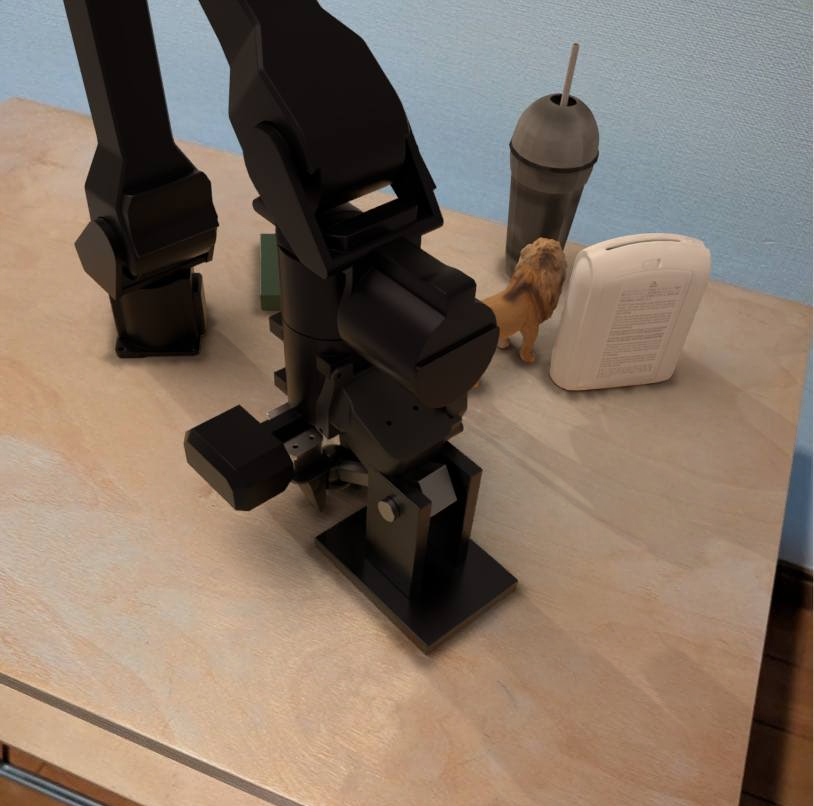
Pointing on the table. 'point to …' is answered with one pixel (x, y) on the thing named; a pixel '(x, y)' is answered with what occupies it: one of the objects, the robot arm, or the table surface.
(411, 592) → the bracket
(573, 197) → the beverage cup
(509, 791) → the table surface
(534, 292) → the lion figurine
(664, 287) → the photo printer
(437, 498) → the lever
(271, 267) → the control block
